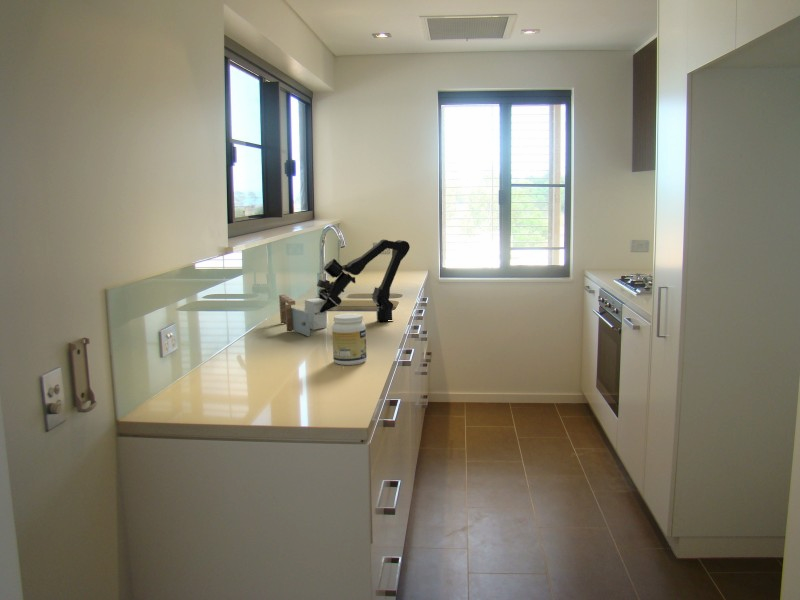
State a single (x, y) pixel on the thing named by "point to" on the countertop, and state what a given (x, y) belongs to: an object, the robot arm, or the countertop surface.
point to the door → (300, 321)
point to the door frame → (286, 311)
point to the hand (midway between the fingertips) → (317, 310)
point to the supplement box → (316, 313)
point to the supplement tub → (349, 339)
